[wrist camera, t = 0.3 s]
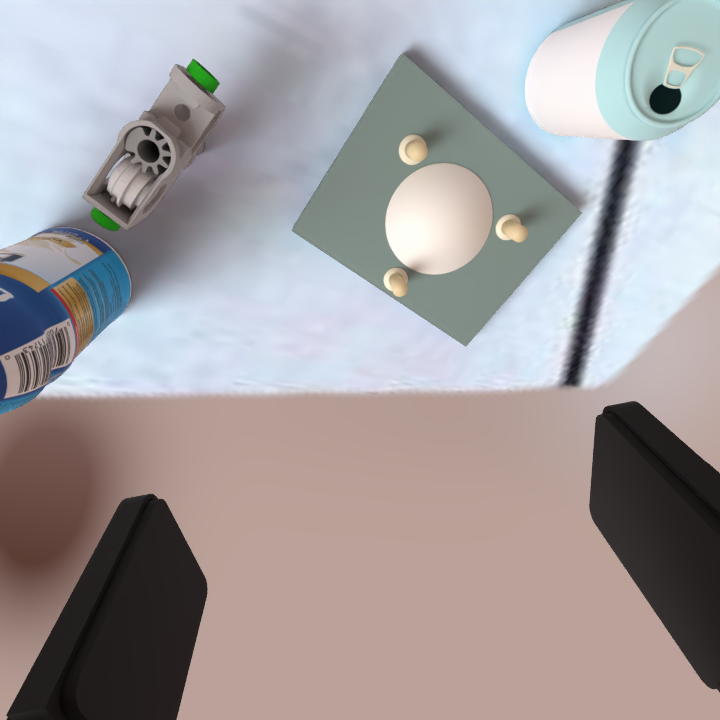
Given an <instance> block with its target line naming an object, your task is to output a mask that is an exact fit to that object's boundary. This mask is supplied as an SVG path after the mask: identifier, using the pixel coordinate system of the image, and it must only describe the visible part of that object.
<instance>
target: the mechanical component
mask: <svg viewBox="0 0 720 720" xmlns="http://www.w3.org/2000/svg"><path fill="white" fill-rule="evenodd" d="M169 76H170V77H171V79H170V80H169V82H168V83H167V85H166V86H165V88H164V89H163V91H162V92H161V94H160V95H159V97H158V98H157V100H156V101H155V103H154V104H153V106H152V107H151V109H150V111H144V112H143V114H142V115H141V117H140V118H139V120H136V121H132V122H130V123H128V124H127V125H125V126H124V127H123V128H122V130H121V131H120V133H119V136H118V140H117V144H116V145H115V147H114V148H113V150H112V151H111V153H110V154H109V156H108V157H107V159H106V161H105V162H104V164H103V165H102V167H101V168H100V170H99V171H98V173H97V174H96V176H95V178H94V179H93V181H92V182H91V184H90V185H89V187H88V188H87V190H86V191H85V193H84V195H83V196H82V197H83V198H84V199H85V200H87V201H88V202H89V203H91V204H92V205H93V206H95V207H94V209H93V210H92V212H91V217H92V218H93V219H94V220H95V221H96V222H97V223H98V224H99V225H101V226H102V227H104V228H106V229H108V230H111V231H117V230H118V229H119V227H120V226H121V227H123V228H124V229H125V230H128V229H130V228H131V227H133V226H135V225H137V224H138V223H139V222H140V221H142V220H144V219H145V218H146V217H147V216H148V215H149V214H150V213H151V212H152V211H153V210H154V209H155V208H156V206H157V205H158V204H159V203H160V201H161V200H162V198H163V197H164V196H165V194H166V193H167V191H168V190H169V189H170V187H171V186H172V184H173V183H174V182H175V180H176V179H177V177H178V176H179V175H180V173H181V172H182V171H183V170H184V169H185V168H186V167H188V166H189V165H191V164H192V162H193V161H194V159H195V156H196V155H199V154H201V153H202V152H203V150H204V147H205V143H204V140H205V138H206V137H207V136H208V134H209V133H210V131H211V130H212V129H213V127H214V126H215V124H216V123H217V121H218V120H219V119H220V117H221V115H222V114H223V112H224V109H225V105H224V104H223V103H222V102H221V101H219V100H218V99H217V98H216V97H215V96H214V95H213V93H214V91H215V90H216V88H217V87H218V85H219V84H220V83H219V82H218V81H217V79H216V78H215V77H214V76H213V75H212V74H211V73H210V72H209V71H207V70H206V69H205V68H204V67H203V66H202V65H201V64H200V63H198V62H197V61H196V60H194V59H193V60H192V61H191V63H190V64H189V66H188V67H187V69H185V68H184V67H183V66H180V65H178V64H175V66H174V68H173V69H172V71H171V72H170V74H169ZM124 155H125V157H124V159H123V161H121V162H120V163H119V164H118V166H117V167H116V168H115V169H114V171H113V172H112V174H111V175H110V177H109V178H107V179H106V180H105V178H106V176H107V174H108V173H109V171H110V170H111V168H112V167H113V166H114V164H115V163H116V162H117V161H118V160H119V159H120V158H121V157H123V156H124Z"/></svg>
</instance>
